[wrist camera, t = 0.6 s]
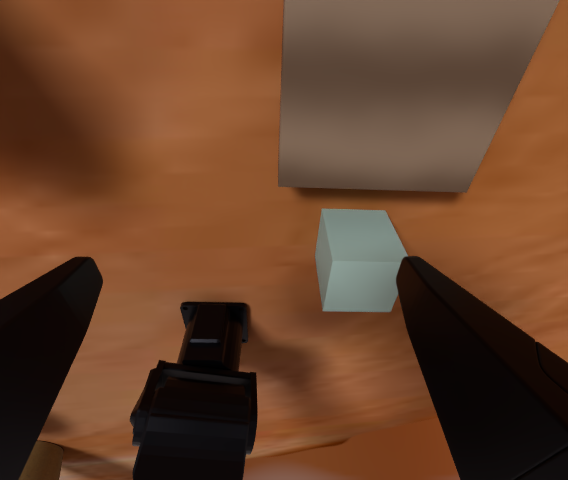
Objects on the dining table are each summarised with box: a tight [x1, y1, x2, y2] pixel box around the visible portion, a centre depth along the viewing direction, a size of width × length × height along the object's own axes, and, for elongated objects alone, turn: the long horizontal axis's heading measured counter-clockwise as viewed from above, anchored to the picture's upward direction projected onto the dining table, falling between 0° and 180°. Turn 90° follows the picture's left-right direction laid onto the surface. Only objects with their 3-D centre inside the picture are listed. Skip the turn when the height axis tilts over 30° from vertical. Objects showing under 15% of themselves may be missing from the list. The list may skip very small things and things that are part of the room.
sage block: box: [315, 209, 408, 312], centre depth 23 cm, size 5×5×6 cm
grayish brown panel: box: [278, 0, 559, 192], centre depth 16 cm, size 12×12×3 cm
